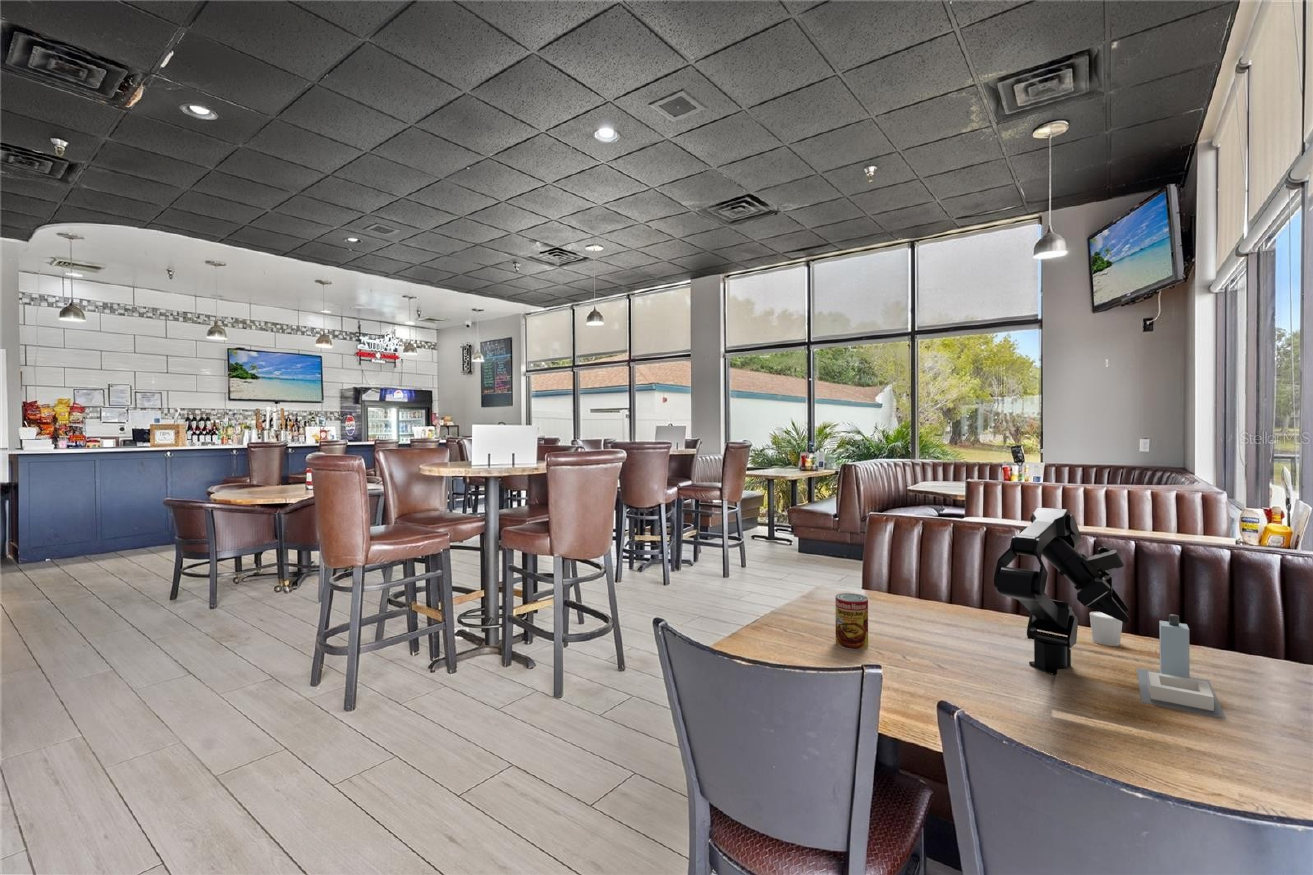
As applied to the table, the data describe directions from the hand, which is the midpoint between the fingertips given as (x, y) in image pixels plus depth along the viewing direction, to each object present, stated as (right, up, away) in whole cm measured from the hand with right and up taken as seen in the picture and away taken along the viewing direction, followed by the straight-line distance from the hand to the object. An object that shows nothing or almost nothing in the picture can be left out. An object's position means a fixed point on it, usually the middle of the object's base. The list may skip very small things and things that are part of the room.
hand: (1127, 616), depth 130 cm
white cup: (+13, -14, +24) cm, 30 cm away
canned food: (-53, -14, +22) cm, 59 cm away
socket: (0, -12, -13) cm, 18 cm away
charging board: (+3, -13, -9) cm, 16 cm away
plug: (+6, -12, -5) cm, 15 cm away
